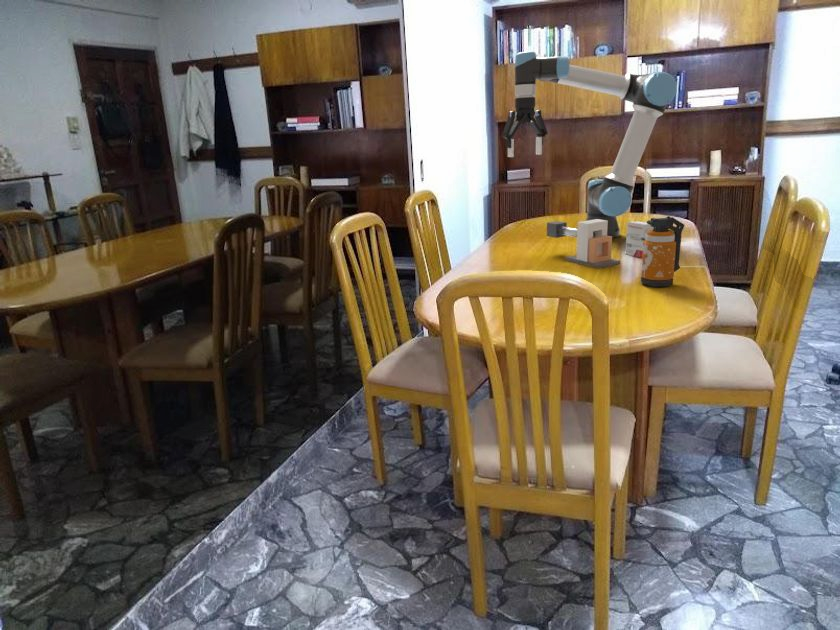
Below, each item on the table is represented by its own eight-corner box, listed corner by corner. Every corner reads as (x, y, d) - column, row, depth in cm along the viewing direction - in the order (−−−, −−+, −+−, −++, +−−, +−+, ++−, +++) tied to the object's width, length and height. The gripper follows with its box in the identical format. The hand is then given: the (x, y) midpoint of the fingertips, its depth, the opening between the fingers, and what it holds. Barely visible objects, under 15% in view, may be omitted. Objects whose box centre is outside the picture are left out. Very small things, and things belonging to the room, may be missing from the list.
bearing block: (565, 260, 218) (566, 220, 214) (586, 255, 223) (587, 217, 219) (598, 268, 205) (600, 226, 201) (620, 263, 210) (622, 222, 205)
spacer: (588, 261, 210) (589, 238, 207) (605, 258, 214) (606, 235, 211) (593, 263, 208) (594, 239, 205) (610, 259, 211) (612, 236, 209)
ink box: (652, 256, 217) (655, 223, 214) (642, 258, 215) (644, 224, 212) (635, 252, 225) (637, 220, 221) (624, 254, 223) (626, 221, 219)
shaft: (546, 236, 228) (546, 222, 227) (557, 234, 230) (557, 221, 229) (586, 244, 211) (587, 229, 210) (597, 242, 213) (598, 227, 212)
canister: (635, 281, 187) (639, 215, 181) (670, 279, 188) (676, 213, 182) (648, 289, 178) (653, 220, 172) (685, 286, 179) (691, 217, 173)
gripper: (544, 96, 238) (543, 153, 244) (492, 98, 226) (492, 157, 233) (557, 95, 232) (556, 153, 238) (504, 97, 220) (504, 158, 227)
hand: (524, 155), depth 236 cm, fingers open, 13 cm apart
